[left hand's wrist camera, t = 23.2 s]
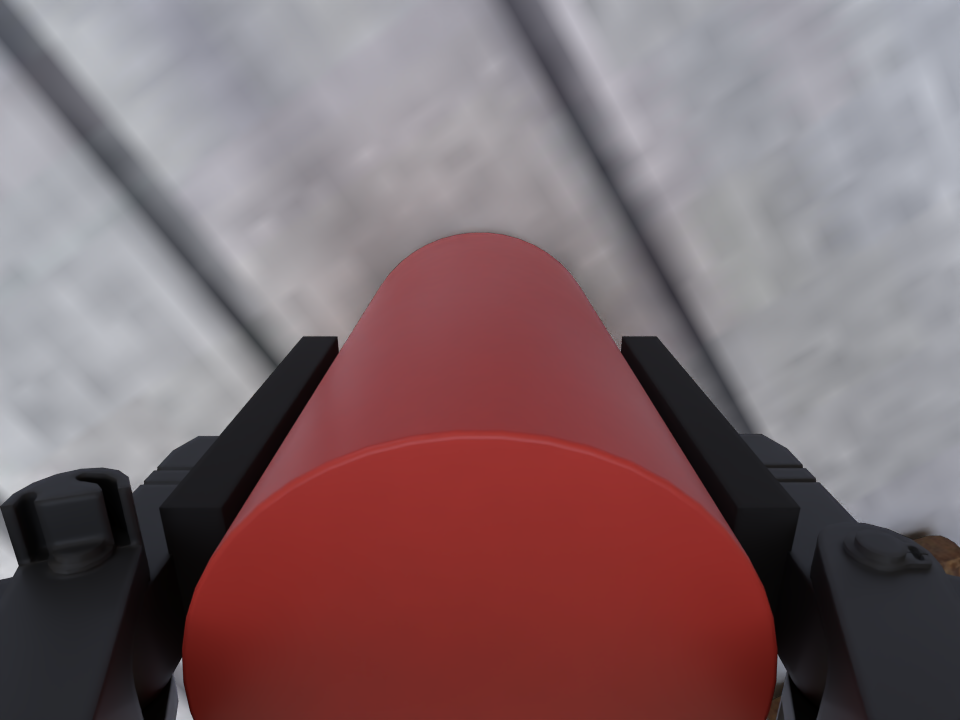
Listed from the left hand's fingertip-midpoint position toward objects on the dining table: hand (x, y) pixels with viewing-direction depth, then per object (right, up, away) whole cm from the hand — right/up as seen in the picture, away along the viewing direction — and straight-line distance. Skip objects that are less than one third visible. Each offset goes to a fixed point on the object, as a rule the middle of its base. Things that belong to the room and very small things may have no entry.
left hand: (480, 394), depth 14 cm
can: (0, +1, +3) cm, 3 cm away
